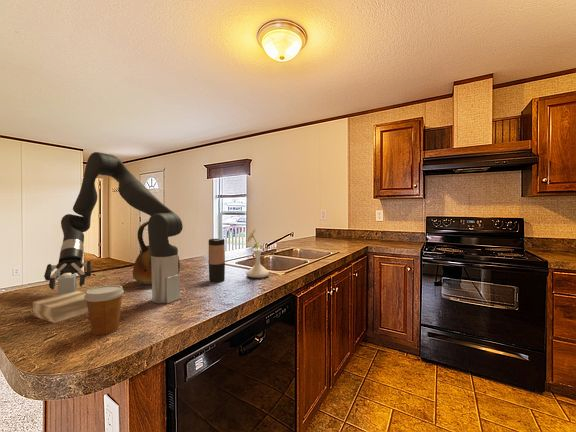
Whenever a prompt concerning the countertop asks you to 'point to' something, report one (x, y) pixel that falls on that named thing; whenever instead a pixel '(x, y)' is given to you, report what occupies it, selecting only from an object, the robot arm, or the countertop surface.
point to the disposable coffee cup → (104, 308)
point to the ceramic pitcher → (144, 261)
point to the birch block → (61, 306)
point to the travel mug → (216, 260)
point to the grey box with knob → (66, 283)
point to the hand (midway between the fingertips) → (66, 286)
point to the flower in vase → (257, 269)
